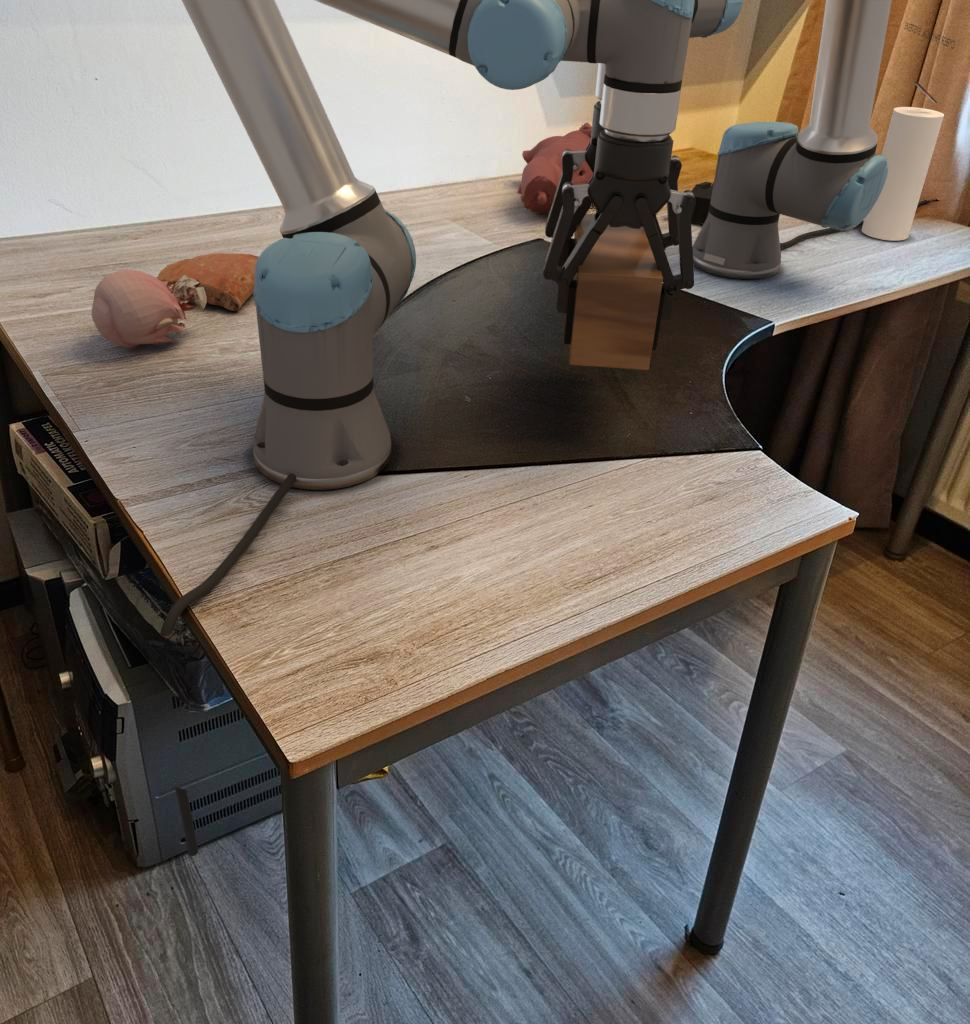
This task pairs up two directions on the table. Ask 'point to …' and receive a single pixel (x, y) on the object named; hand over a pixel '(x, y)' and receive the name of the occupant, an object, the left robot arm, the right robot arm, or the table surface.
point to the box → (615, 300)
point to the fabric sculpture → (551, 168)
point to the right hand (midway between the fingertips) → (605, 295)
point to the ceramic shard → (217, 277)
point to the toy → (702, 202)
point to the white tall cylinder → (904, 167)
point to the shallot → (143, 307)
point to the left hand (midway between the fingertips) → (609, 342)
